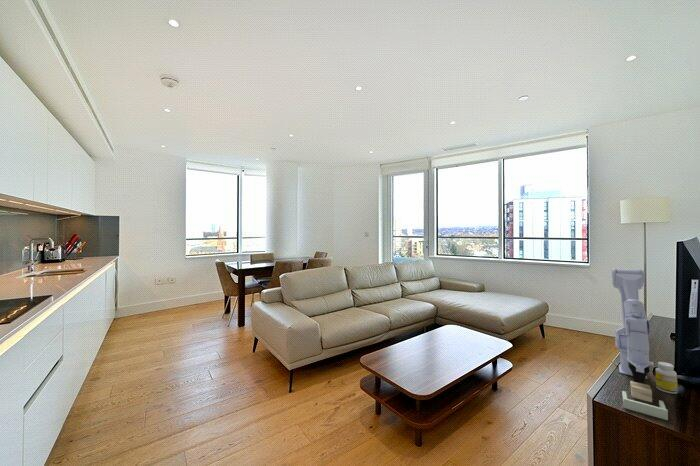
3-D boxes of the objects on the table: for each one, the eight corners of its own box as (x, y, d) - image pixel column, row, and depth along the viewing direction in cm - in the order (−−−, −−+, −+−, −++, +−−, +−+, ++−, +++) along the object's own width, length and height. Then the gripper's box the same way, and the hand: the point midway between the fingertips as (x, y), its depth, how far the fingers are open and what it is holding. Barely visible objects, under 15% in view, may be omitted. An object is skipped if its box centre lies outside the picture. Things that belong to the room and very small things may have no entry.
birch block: (630, 391, 104) (630, 380, 104) (650, 396, 101) (649, 385, 101) (632, 397, 100) (631, 386, 101) (652, 402, 97) (651, 391, 97)
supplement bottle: (654, 384, 108) (653, 359, 108) (675, 389, 105) (674, 363, 105) (657, 390, 104) (656, 364, 104) (679, 395, 101) (678, 368, 101)
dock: (622, 396, 101) (622, 387, 101) (663, 407, 94) (663, 398, 94) (623, 407, 94) (623, 398, 95) (668, 420, 88) (667, 410, 88)
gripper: (655, 358, 98) (657, 396, 98) (650, 345, 109) (651, 380, 109) (627, 352, 103) (629, 389, 103) (625, 341, 114) (626, 374, 114)
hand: (639, 384), depth 106 cm, fingers closed
